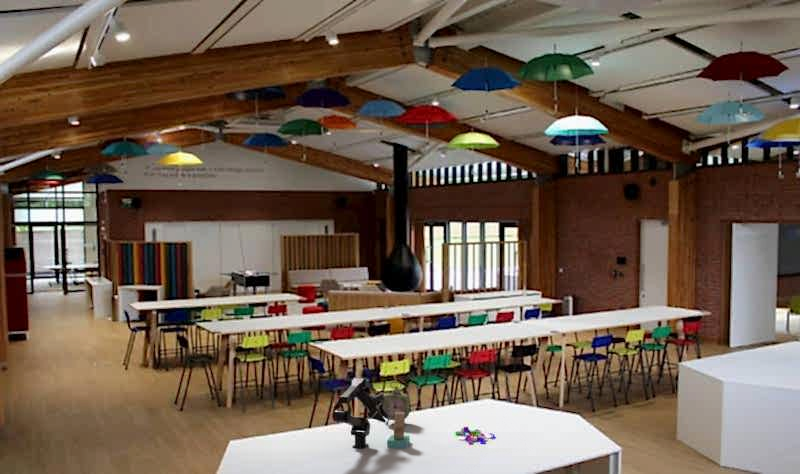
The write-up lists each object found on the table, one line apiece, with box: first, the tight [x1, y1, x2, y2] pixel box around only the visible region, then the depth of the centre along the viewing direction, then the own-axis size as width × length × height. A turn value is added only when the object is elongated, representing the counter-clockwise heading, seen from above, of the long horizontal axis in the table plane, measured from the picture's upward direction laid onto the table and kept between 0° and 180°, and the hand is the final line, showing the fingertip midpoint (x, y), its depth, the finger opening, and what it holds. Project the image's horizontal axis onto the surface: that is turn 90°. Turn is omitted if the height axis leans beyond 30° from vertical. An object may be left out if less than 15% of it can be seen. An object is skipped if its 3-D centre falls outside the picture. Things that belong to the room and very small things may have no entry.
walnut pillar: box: [393, 412, 406, 439], centre depth 358 cm, size 5×5×13 cm
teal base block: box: [386, 434, 411, 449], centre depth 358 cm, size 10×10×4 cm
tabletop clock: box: [382, 381, 411, 427], centre depth 396 cm, size 14×9×25 cm, turn 73°
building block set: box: [454, 426, 496, 445], centre depth 369 cm, size 25×20×4 cm
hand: (386, 419), depth 357 cm, fingers open, 9 cm apart
